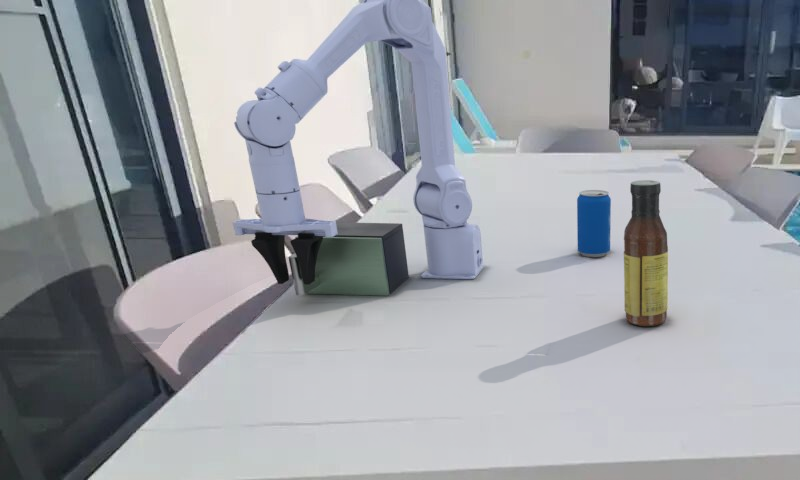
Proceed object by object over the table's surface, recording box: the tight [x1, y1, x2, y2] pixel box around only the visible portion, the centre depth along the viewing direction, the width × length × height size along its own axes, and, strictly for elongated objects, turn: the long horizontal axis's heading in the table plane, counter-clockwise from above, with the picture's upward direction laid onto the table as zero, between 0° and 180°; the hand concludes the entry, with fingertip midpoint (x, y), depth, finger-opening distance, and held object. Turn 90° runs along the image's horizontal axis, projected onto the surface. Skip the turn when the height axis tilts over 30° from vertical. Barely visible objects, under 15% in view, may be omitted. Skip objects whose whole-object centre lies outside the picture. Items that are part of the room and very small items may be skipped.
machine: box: [323, 221, 410, 295], centre depth 106 cm, size 9×14×10 cm, turn 86°
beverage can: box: [576, 189, 612, 258], centre depth 124 cm, size 6×6×12 cm
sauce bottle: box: [623, 179, 669, 327], centre depth 89 cm, size 6×6×20 cm
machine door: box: [287, 235, 391, 297], centre depth 99 cm, size 6×14×9 cm, turn 86°
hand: (296, 282), depth 97 cm, fingers open, 3 cm apart
